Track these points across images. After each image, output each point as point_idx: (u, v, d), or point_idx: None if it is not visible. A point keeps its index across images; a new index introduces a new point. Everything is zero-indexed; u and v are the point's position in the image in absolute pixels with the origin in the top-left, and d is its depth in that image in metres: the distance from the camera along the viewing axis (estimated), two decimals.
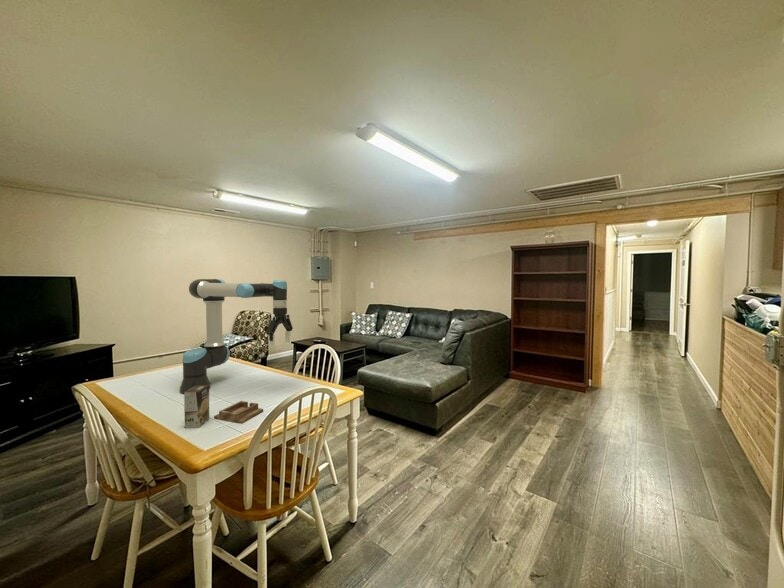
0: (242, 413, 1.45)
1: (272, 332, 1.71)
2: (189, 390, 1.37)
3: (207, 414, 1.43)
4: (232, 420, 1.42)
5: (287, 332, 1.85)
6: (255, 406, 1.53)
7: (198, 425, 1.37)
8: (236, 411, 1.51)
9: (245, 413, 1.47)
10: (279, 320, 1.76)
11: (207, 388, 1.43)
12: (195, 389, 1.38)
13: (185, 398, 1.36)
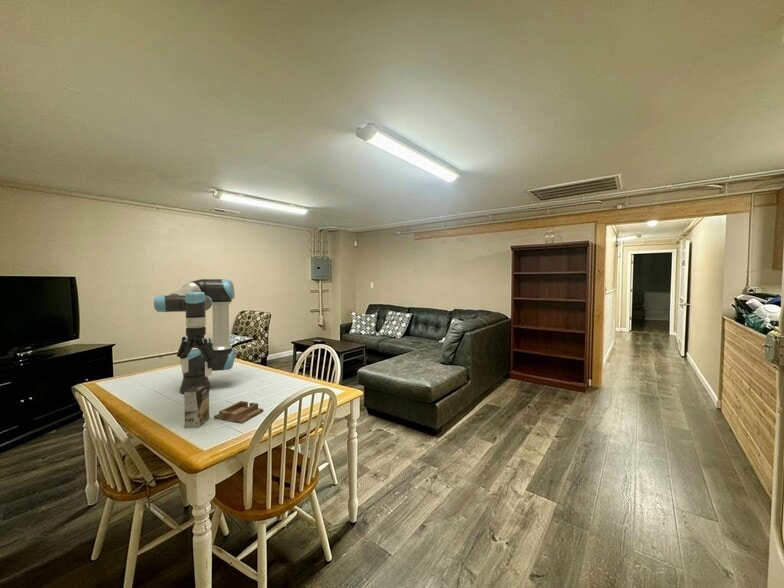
0: (242, 413, 1.45)
1: (181, 355, 1.41)
2: (189, 390, 1.37)
3: (207, 414, 1.43)
4: (232, 420, 1.42)
5: None
6: (255, 406, 1.53)
7: (198, 425, 1.37)
8: (236, 411, 1.51)
9: (245, 413, 1.47)
10: (188, 342, 1.38)
11: (207, 388, 1.43)
12: (195, 389, 1.38)
13: (185, 398, 1.36)
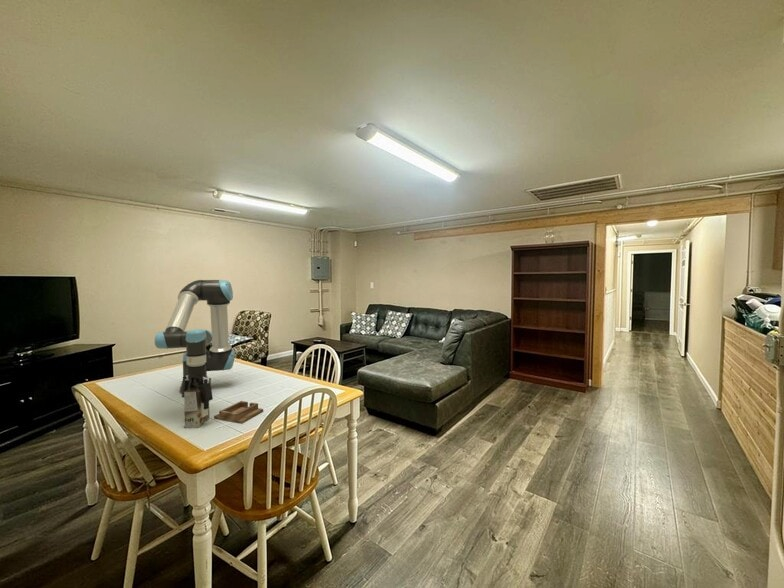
0: (242, 413, 1.45)
1: None
2: (189, 390, 1.37)
3: None
4: (232, 420, 1.42)
5: None
6: (255, 406, 1.53)
7: (198, 425, 1.37)
8: (236, 411, 1.51)
9: (245, 413, 1.47)
10: (189, 381, 1.39)
11: None
12: (195, 389, 1.38)
13: (185, 398, 1.36)
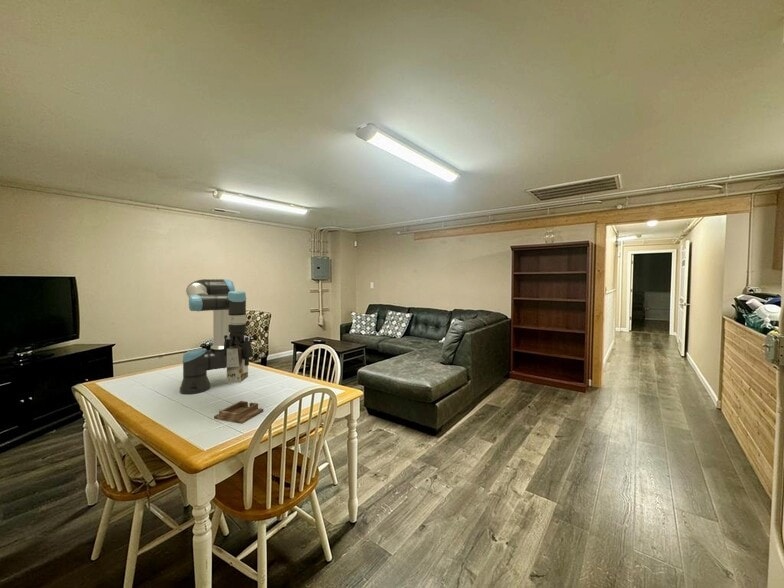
0: (242, 413, 1.45)
1: (226, 354, 1.49)
2: (231, 347, 1.45)
3: (246, 372, 1.51)
4: (232, 420, 1.42)
5: None
6: (255, 406, 1.53)
7: (239, 380, 1.45)
8: (236, 411, 1.51)
9: (245, 413, 1.47)
10: (230, 339, 1.47)
11: None
12: (236, 347, 1.46)
13: (227, 354, 1.44)
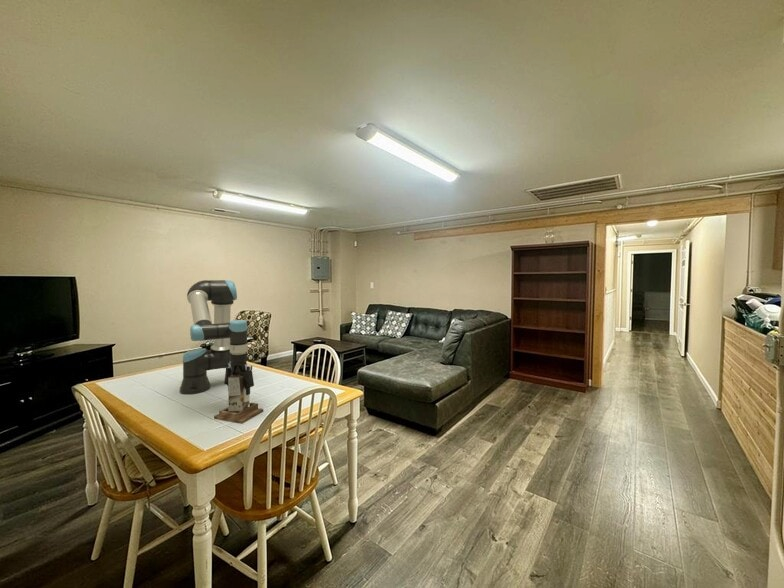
0: (242, 413, 1.45)
1: (227, 383, 1.50)
2: (232, 376, 1.46)
3: None
4: (232, 420, 1.42)
5: None
6: (255, 406, 1.53)
7: (241, 409, 1.45)
8: (236, 411, 1.51)
9: (245, 413, 1.47)
10: (232, 369, 1.48)
11: None
12: (238, 375, 1.47)
13: (229, 383, 1.44)
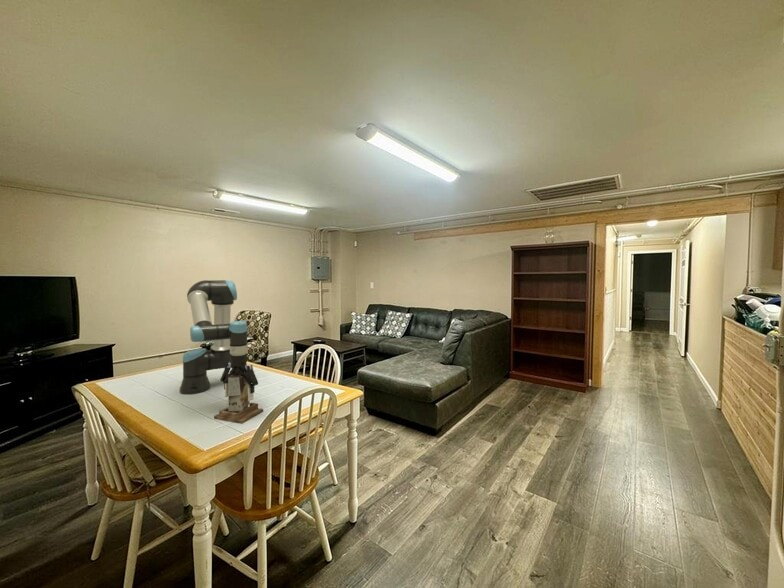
0: (242, 413, 1.45)
1: (224, 380, 1.50)
2: (232, 376, 1.46)
3: (247, 399, 1.52)
4: (232, 420, 1.42)
5: None
6: (255, 406, 1.53)
7: (241, 409, 1.45)
8: (236, 411, 1.51)
9: (245, 413, 1.47)
10: (231, 369, 1.48)
11: None
12: (238, 375, 1.47)
13: (229, 383, 1.44)
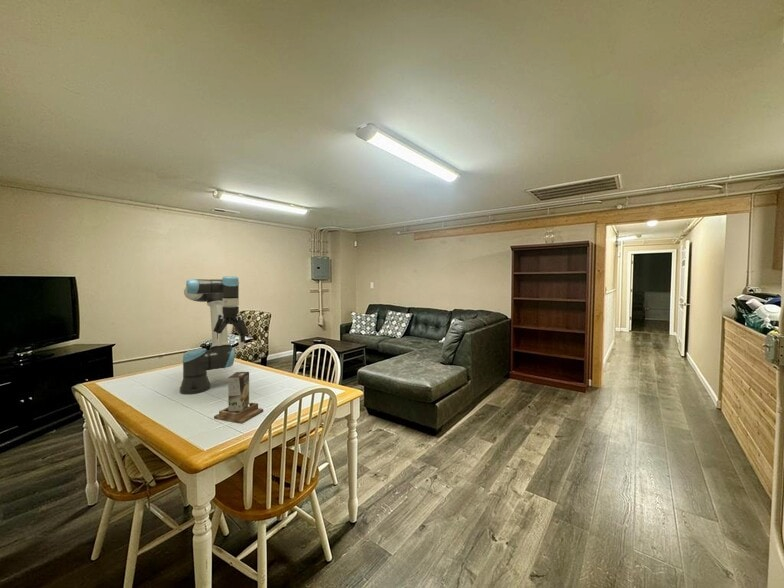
0: (242, 413, 1.45)
1: (217, 330, 1.64)
2: (232, 376, 1.46)
3: (247, 399, 1.52)
4: (232, 420, 1.42)
5: None
6: (255, 406, 1.53)
7: (241, 409, 1.45)
8: (236, 411, 1.51)
9: (245, 413, 1.47)
10: (224, 319, 1.62)
11: (247, 374, 1.52)
12: (238, 375, 1.47)
13: (229, 383, 1.44)
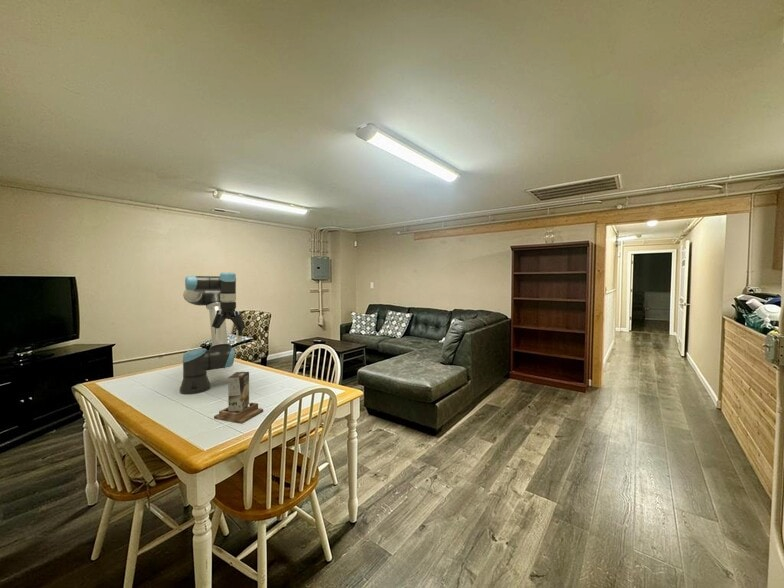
0: (242, 413, 1.45)
1: (215, 325, 1.69)
2: (232, 376, 1.46)
3: (247, 399, 1.52)
4: (232, 420, 1.42)
5: None
6: (255, 406, 1.53)
7: (241, 409, 1.45)
8: (236, 411, 1.51)
9: (245, 413, 1.47)
10: (221, 314, 1.66)
11: (247, 374, 1.52)
12: (238, 375, 1.47)
13: (229, 383, 1.44)
